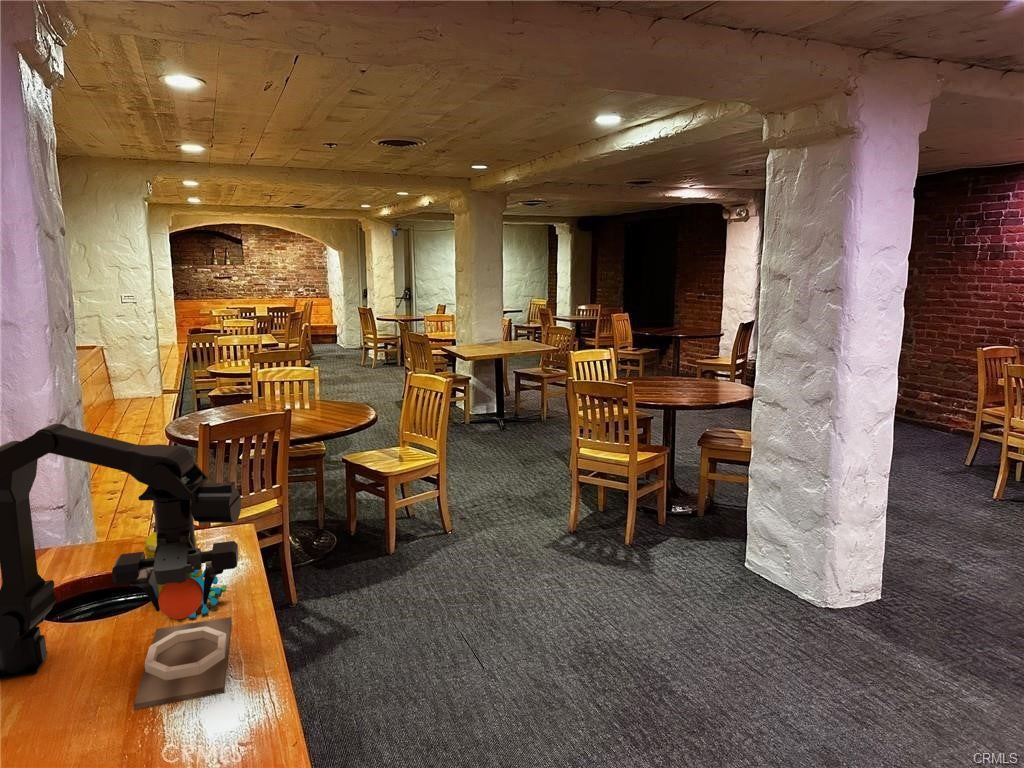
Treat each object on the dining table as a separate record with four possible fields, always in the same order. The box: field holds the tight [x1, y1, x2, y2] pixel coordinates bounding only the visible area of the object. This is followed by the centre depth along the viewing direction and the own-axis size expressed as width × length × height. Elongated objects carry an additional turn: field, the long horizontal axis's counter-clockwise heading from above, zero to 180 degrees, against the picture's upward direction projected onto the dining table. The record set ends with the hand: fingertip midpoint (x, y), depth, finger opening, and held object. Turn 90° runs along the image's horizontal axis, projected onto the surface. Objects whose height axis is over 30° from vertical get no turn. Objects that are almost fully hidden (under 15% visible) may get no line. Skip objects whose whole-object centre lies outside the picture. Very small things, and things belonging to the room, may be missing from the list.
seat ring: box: [144, 626, 227, 680], centre depth 117 cm, size 12×12×2 cm
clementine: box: [158, 574, 204, 620], centre depth 114 cm, size 8×7×7 cm
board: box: [133, 616, 233, 711], centre depth 117 cm, size 13×22×1 cm, turn 19°
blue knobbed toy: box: [187, 569, 228, 620], centre depth 134 cm, size 11×6×10 cm
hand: (182, 606), depth 115 cm, fingers closed on clementine, 7 cm apart
